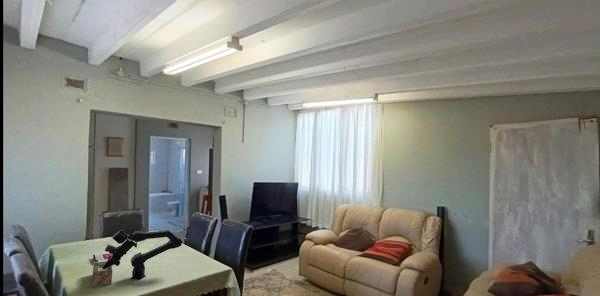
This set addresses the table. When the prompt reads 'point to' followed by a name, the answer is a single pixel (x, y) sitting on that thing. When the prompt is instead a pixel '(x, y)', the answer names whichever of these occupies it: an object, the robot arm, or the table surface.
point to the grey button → (102, 262)
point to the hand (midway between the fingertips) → (102, 268)
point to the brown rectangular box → (101, 276)
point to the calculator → (100, 256)
